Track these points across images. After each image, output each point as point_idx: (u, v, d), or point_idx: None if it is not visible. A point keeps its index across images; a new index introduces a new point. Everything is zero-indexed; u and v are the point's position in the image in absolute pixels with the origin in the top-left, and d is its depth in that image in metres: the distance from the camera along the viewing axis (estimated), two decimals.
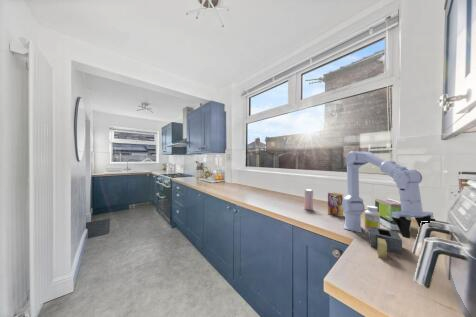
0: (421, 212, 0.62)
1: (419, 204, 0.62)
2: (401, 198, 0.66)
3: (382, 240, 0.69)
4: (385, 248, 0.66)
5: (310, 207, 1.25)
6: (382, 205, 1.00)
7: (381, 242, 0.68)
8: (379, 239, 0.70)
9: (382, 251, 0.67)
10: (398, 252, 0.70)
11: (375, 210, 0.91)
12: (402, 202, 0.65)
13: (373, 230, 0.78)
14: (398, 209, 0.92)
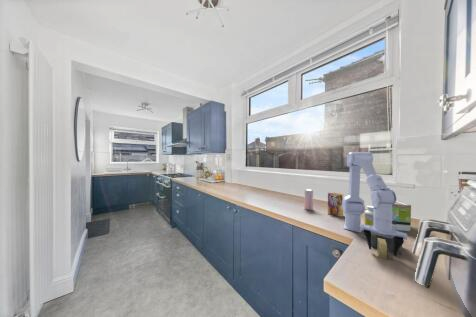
0: (385, 231, 0.66)
1: (384, 223, 0.66)
2: None
3: (382, 240, 0.69)
4: (385, 248, 0.66)
5: (310, 207, 1.25)
6: None
7: (381, 242, 0.68)
8: (379, 239, 0.70)
9: (382, 251, 0.67)
10: (398, 252, 0.70)
11: None
12: None
13: None
14: (398, 209, 0.92)
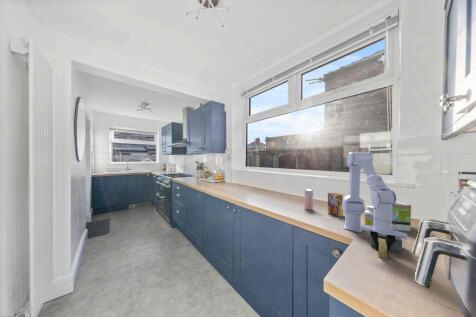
0: (385, 231, 0.66)
1: (384, 223, 0.66)
2: None
3: (382, 240, 0.69)
4: (385, 248, 0.66)
5: (310, 207, 1.25)
6: None
7: (381, 242, 0.68)
8: (379, 239, 0.70)
9: (382, 250, 0.67)
10: (398, 252, 0.70)
11: None
12: None
13: None
14: (398, 209, 0.92)
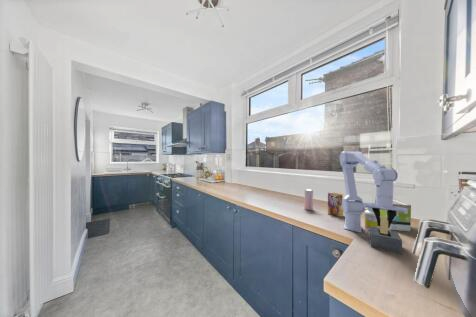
0: (386, 206, 0.70)
1: (385, 199, 0.70)
2: (376, 193, 0.74)
3: (384, 217, 0.73)
4: (386, 224, 0.70)
5: (310, 207, 1.25)
6: None
7: (383, 219, 0.72)
8: (381, 217, 0.74)
9: (383, 226, 0.71)
10: (398, 252, 0.70)
11: None
12: None
13: (373, 230, 0.78)
14: None
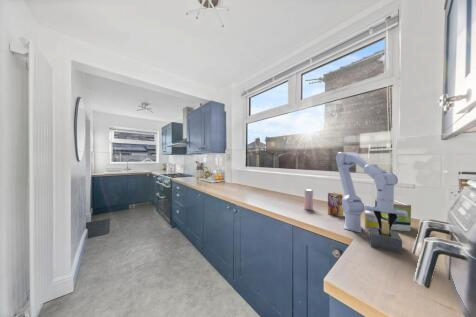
0: (387, 209, 0.73)
1: (386, 203, 0.73)
2: (378, 197, 0.76)
3: (385, 221, 0.76)
4: (387, 227, 0.73)
5: (310, 207, 1.25)
6: None
7: (384, 222, 0.75)
8: (382, 220, 0.77)
9: (384, 230, 0.74)
10: (398, 252, 0.70)
11: None
12: (377, 199, 0.78)
13: (373, 230, 0.78)
14: (398, 209, 0.92)
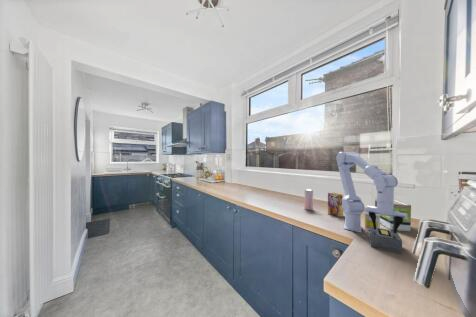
0: (387, 211, 0.73)
1: (386, 205, 0.73)
2: (378, 199, 0.76)
3: (384, 231, 0.77)
4: None
5: (310, 207, 1.25)
6: None
7: (383, 233, 0.75)
8: (382, 230, 0.77)
9: None
10: (398, 252, 0.70)
11: None
12: (377, 201, 0.78)
13: (373, 230, 0.78)
14: (398, 209, 0.92)
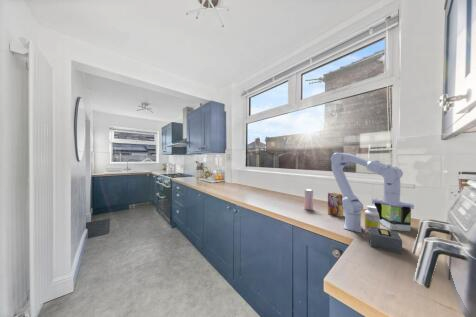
0: (394, 202, 0.76)
1: (393, 195, 0.76)
2: (386, 191, 0.78)
3: (384, 231, 0.77)
4: None
5: (310, 207, 1.25)
6: (382, 205, 1.00)
7: (383, 233, 0.75)
8: (382, 230, 0.77)
9: None
10: (398, 252, 0.70)
11: (375, 210, 0.91)
12: None
13: (373, 230, 0.78)
14: (398, 209, 0.92)
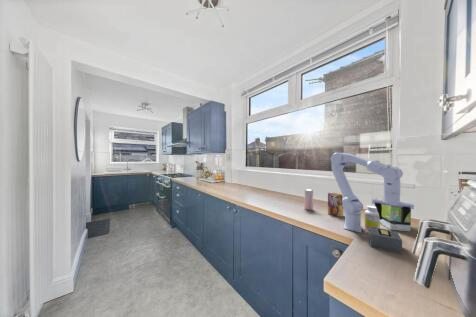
0: (394, 202, 0.76)
1: (393, 195, 0.76)
2: (386, 191, 0.78)
3: (384, 231, 0.77)
4: None
5: (310, 207, 1.25)
6: (382, 205, 1.00)
7: (383, 233, 0.75)
8: (382, 230, 0.77)
9: None
10: (398, 252, 0.70)
11: (375, 210, 0.91)
12: None
13: (373, 230, 0.78)
14: (398, 209, 0.92)
